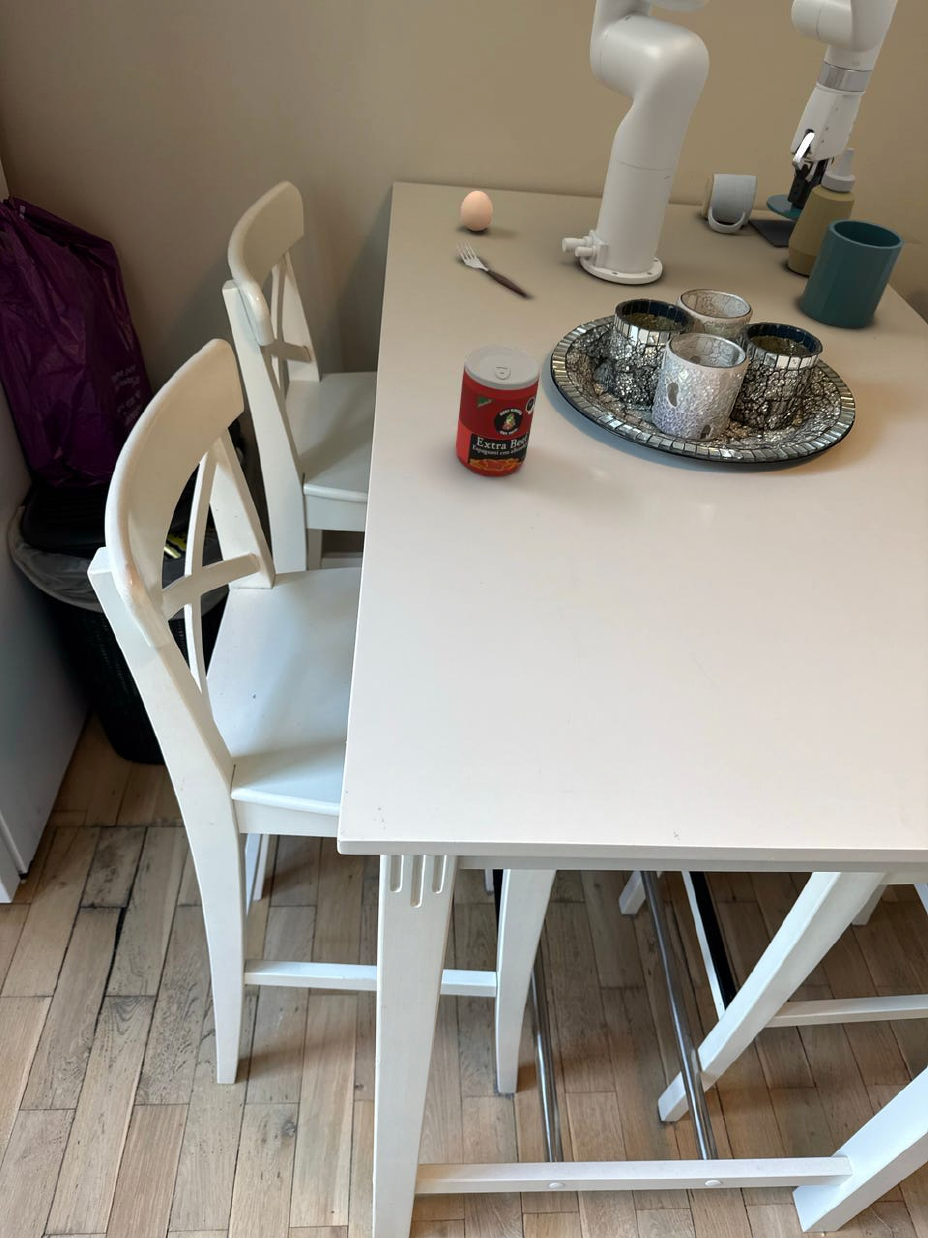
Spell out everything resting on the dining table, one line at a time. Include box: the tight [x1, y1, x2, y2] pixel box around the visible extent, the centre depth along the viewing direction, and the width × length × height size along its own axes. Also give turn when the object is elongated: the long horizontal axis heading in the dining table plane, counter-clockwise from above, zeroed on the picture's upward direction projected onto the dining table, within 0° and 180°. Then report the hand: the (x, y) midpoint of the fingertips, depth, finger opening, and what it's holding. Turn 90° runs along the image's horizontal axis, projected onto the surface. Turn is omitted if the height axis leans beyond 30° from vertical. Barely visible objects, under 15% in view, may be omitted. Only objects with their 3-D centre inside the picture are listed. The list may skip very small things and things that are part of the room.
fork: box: [455, 242, 528, 297], centre depth 128 cm, size 3×16×2 cm, turn 36°
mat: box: [747, 219, 798, 248], centre depth 153 cm, size 11×11×1 cm
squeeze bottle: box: [787, 146, 856, 276], centre depth 136 cm, size 8×8×18 cm
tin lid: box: [765, 172, 821, 221], centre depth 149 cm, size 11×11×6 cm
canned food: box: [455, 344, 541, 477], centre depth 91 cm, size 8×8×11 cm
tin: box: [799, 218, 906, 329], centre depth 127 cm, size 10×10×12 cm
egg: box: [460, 190, 494, 232], centre depth 139 cm, size 5×5×6 cm
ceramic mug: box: [700, 173, 758, 234], centre depth 151 cm, size 11×8×8 cm
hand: (802, 200), depth 149 cm, fingers closed on tin lid, 3 cm apart
